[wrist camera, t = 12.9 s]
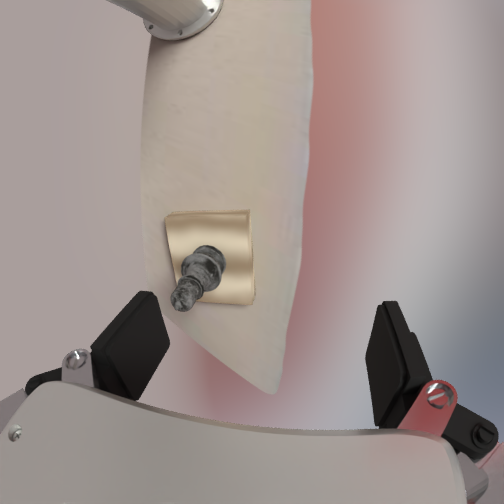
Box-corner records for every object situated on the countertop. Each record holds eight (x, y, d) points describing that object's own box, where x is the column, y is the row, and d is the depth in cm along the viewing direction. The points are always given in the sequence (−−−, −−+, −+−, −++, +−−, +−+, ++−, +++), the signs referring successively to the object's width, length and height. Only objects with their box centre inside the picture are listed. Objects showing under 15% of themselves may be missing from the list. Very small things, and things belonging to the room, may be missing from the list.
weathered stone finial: (186, 271, 41) (150, 318, 30) (194, 237, 38) (154, 279, 28) (222, 284, 41) (195, 337, 30) (232, 251, 38) (205, 299, 28)
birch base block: (173, 212, 41) (164, 218, 38) (249, 209, 38) (245, 216, 36) (187, 290, 46) (180, 299, 44) (255, 294, 44) (252, 304, 41)
